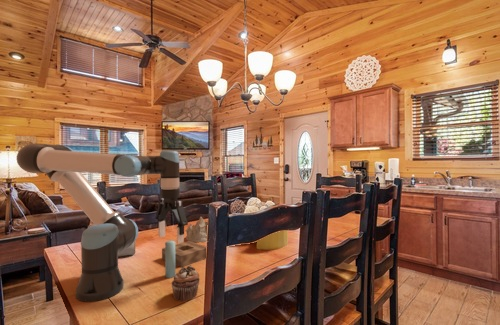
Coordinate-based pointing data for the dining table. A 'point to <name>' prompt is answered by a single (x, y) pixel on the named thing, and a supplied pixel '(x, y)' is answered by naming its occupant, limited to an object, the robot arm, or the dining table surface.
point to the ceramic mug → (128, 250)
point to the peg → (169, 259)
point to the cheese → (273, 241)
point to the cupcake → (185, 284)
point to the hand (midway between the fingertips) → (171, 239)
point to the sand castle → (197, 231)
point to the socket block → (187, 253)
